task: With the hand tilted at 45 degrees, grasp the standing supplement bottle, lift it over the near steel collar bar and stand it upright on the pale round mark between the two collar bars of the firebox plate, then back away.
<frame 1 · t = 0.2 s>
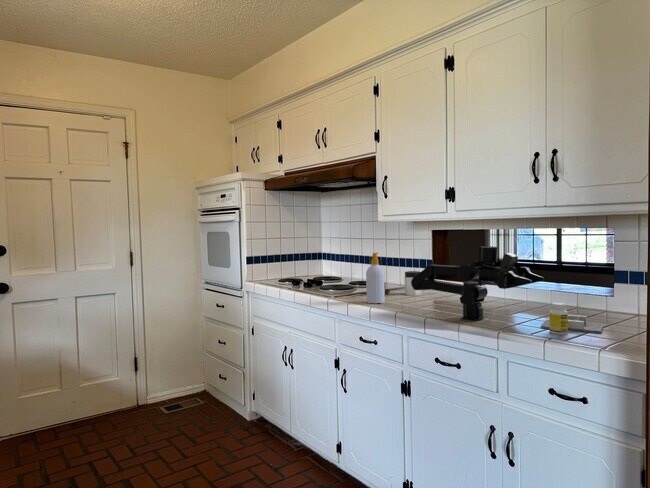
hand: (537, 280, 161), 17 cm above the worktop, tool horizontal, fingers open, 9 cm apart
jar: (413, 294, 246), on the worktop
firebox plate: (571, 327, 162), on the worktop
cup and saucer: (378, 294, 252), on the worktop
supplement bottle: (558, 333, 154), on the worktop
soap bottle: (376, 302, 224), on the worktop
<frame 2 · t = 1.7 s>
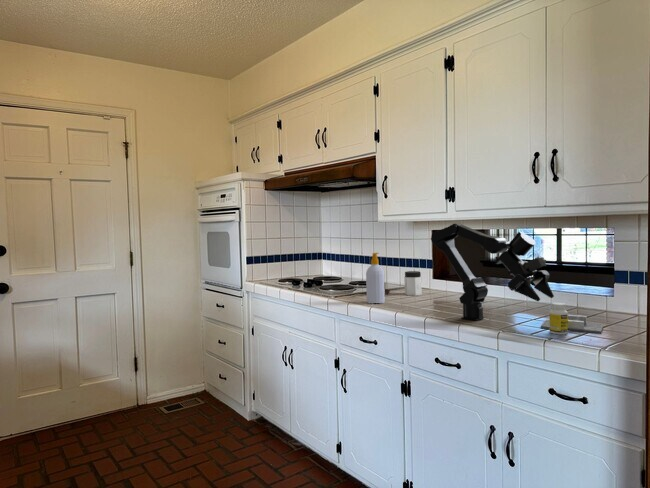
hand: (546, 298, 157), 11 cm above the worktop, tool tilted 45°, fingers open, 9 cm apart
nothing on the worktop moved.
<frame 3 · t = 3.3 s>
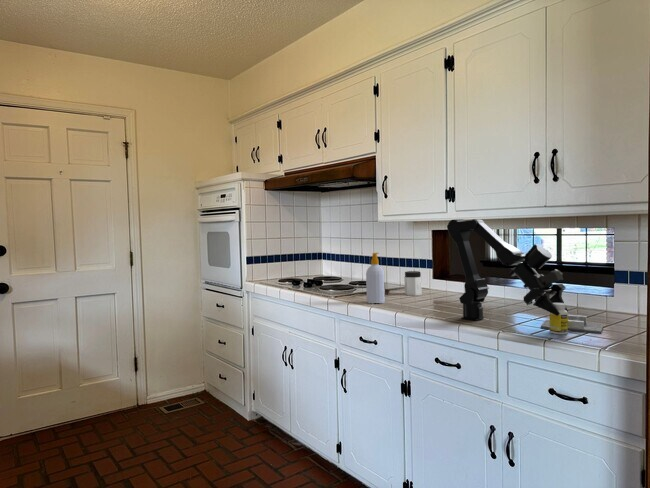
hand: (562, 313, 153), 7 cm above the worktop, tool tilted 45°, fingers closed on supplement bottle, 5 cm apart
supplement bottle: (558, 333, 154), on the worktop, touching gripper
everything else where it was.
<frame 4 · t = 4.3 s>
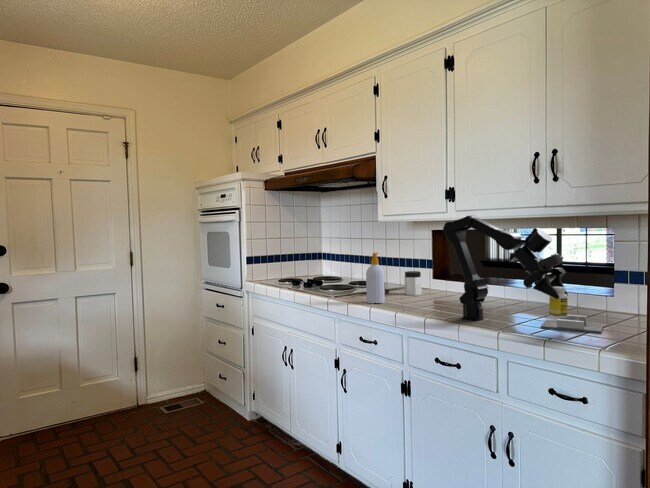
hand: (562, 297, 153), 12 cm above the worktop, tool tilted 45°, fingers closed on supplement bottle, 5 cm apart
supplement bottle: (558, 317, 154), point 5 cm above the worktop, touching gripper
everything else where it was.
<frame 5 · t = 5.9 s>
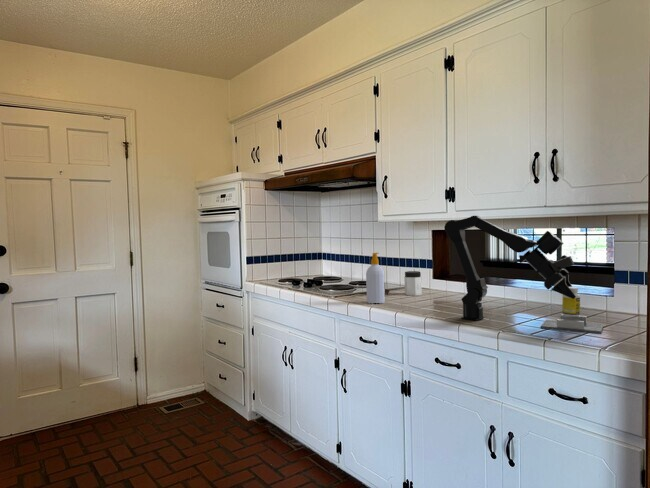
hand: (575, 296, 160), 11 cm above the worktop, tool tilted 45°, fingers closed on supplement bottle, 5 cm apart
supplement bottle: (571, 316, 161), point 4 cm above the worktop, touching gripper
everything else where it was.
when the fingers open (8 cm above the worktop, at t = 6.7 s): supplement bottle stays where it is, resting on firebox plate.
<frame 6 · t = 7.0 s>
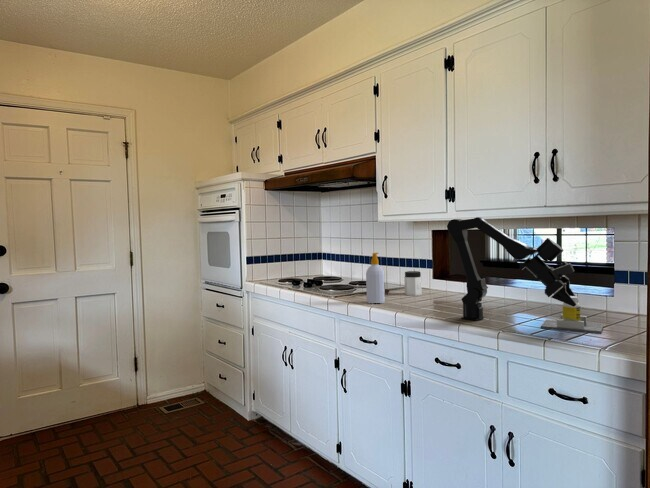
hand: (576, 303, 160), 8 cm above the worktop, tool tilted 45°, fingers open, 8 cm apart
supplement bottle: (571, 325, 162), point 1 cm above the worktop, touching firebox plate
everything else where it was.
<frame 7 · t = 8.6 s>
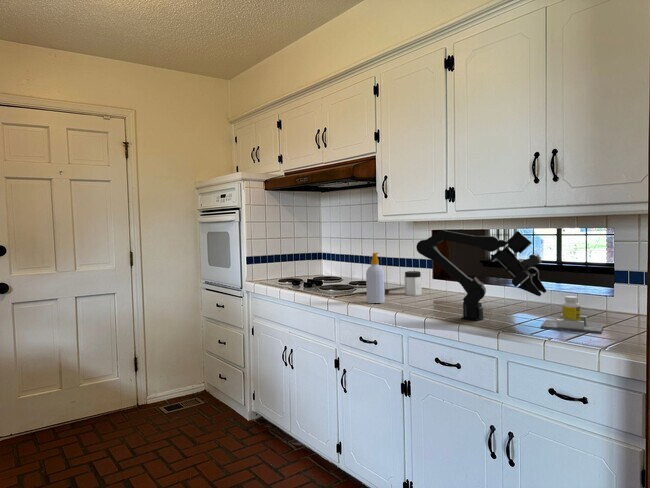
hand: (543, 293, 168), 11 cm above the worktop, tool tilted 45°, fingers open, 9 cm apart
nothing on the worktop moved.
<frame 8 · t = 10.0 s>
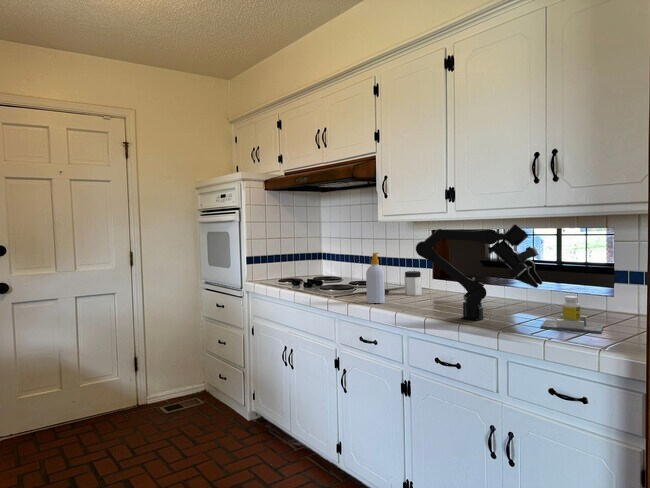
hand: (539, 285, 171), 14 cm above the worktop, tool tilted 45°, fingers open, 9 cm apart
nothing on the worktop moved.
at the end: supplement bottle inside the target area on the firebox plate (0.2 cm from its centre), point 0.7 cm above the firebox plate's base; supplement bottle tilted 0°; the gripper is holding nothing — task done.
